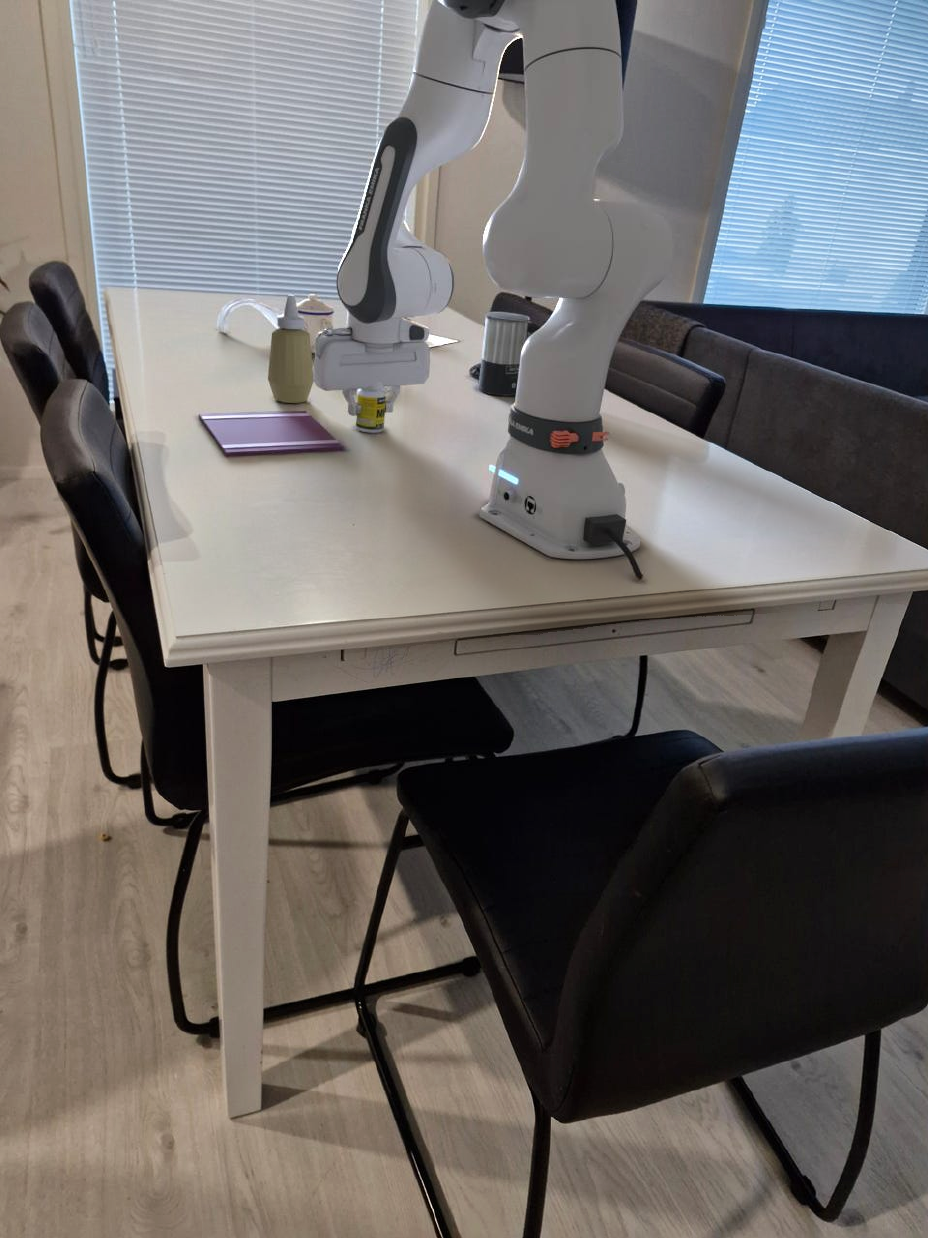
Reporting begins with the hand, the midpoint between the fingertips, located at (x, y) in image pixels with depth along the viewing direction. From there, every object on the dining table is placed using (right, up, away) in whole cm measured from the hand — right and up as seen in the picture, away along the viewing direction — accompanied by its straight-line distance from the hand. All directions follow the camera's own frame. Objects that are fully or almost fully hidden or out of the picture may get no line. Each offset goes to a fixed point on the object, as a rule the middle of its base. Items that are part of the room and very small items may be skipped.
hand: (370, 413), depth 145 cm
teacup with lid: (-18, +25, +50) cm, 59 cm away
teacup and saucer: (0, +35, +72) cm, 81 cm away
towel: (-16, -5, -6) cm, 17 cm away
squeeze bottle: (-16, +5, +13) cm, 21 cm away
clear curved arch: (-31, +35, +64) cm, 79 cm away
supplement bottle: (0, -3, +1) cm, 3 cm away
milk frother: (+21, +14, +37) cm, 45 cm away
